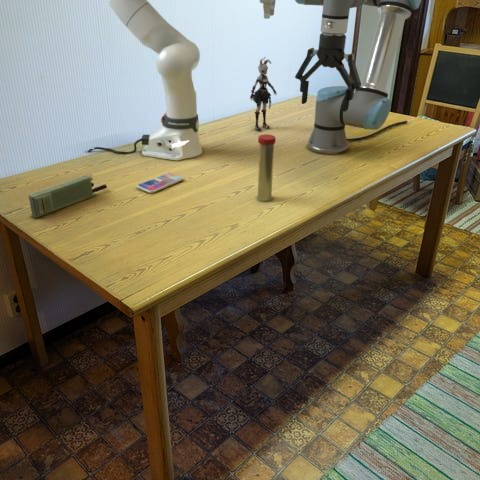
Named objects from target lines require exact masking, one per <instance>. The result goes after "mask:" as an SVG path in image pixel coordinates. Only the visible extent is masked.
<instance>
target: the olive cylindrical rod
mask: <svg viewBox="0 0 480 480" xmlns="http://www.w3.org/2000/svg"><path fill="white" fill-rule="evenodd" d="M258 145H259V149H258V150H259V151H258V180H257V181H258V183H257V200H258V201H260V202H270V201H271V200H272V194H273V193H272V192H273V191H272V190H273V176H274V175H273V170H274V150H275V144H272V145H262V144H260V143H259V144H258Z"/></svg>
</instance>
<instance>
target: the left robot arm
mask: <svg viewBox="0 0 480 480" xmlns="http://www.w3.org/2000/svg"><path fill="white" fill-rule="evenodd" d="M258 1H259V4H262V8H263V19H264V20H268V19H270V18H271V17H272V16H274V15H275V8H276V0H258ZM108 4H109V6H110V8H111V9H112V10H113V12H114V14H115V15H116V16H117V18H118V19H119V20H120V21H121V22H122V24H123V25H124V26H125V27H126V28H127V29H128V30H129V31H130V33H132V35H133V36H134V37H135V38H136V39H137V40H138V41H139V42H140V43H141V44H142V45H143V46H145V47H146V48H148V49H150V50H152V51H153V52H154V53H156V54H157V55H158V56H157V57H156V61H155V67H156V70H157V72H158V74H159V75H160V79H161V83H162V86H163V91H164V98H165V113H163V114H162V116H161V118H160V123H161V125H159V127H157V128H156V129H155V130H154V131H152V132H151V133H150V134H142V136H141V138H140V139H137V140H136V141H135V142H134V144H133V147H134V149H133V150H131V151H123V150H122V151H121V150H115V149H113V148H109V147H102V146H94V147H95V148H94V147H93V148H94V149H91V148H90V149H88V150H87V153H91V152H92V151H94V150H102V151H110V152H113V153H114V154H122V155H123V154H124V155H128V154H129V155H130V154H134V153H135V152H136V151H137V150H138V149H137V148H138V147H137V144H139V143H140V142H141V145H142V146H144V147H143V148H142V150H141V155H142V156H145V157H152V158H157V159H164V160H170V161H176V162H178V161H182V160H185V159H190V158H191V159H192V158H196V157H198V156H200V155H202V153H203V149H202V148H203V147H202V145H201V142H200V134H199V128H200V121H199V114H198V103H197V91H196V90H195V86H194V82H193V76H192V75H193V74H192V73H193V71H195V70H196V68H197V67H198V65H199V62H200V59H201V51H200V49H199V47H198V46H197V44H195V42H193V41H191V40H190V39H189V38H187V37H186V36H185V35H184V34H182V32H181V31H179V30H178V29H176V28H175V27H174V26H173V25H171V24H170V23H169V22H168V21H167V20H166V19H165V18H164V17H163V16H162V15H161V14H160V13H159V11H157V9H156V8H154V6H153V5H152V4H151V3H150V2H149V1H148V0H108Z"/></svg>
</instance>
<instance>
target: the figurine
mask: <svg viewBox="0 0 480 480" xmlns="http://www.w3.org/2000/svg"><path fill="white" fill-rule="evenodd" d="M268 63H269V64H270V65H271V64H272V61H271V60H270V59H268V58H267V59H266V56H264V57H263V58H261V59H260V60H259V64H258V68H257V70H258V73H259V75H258V76H257V77H256V80H255V82H254V85H252V87H251V88H252V89H251V91H250V93H251V94H250V97H249V99H250V101H253V102H254V103H255V104H256V109H255V112H254V114H255V125H254V129H255V131H257V132H261V130H262V129H261V128H260V126H259V117H260V115H261V113H262V120H263V121H262V128H264V129H266V130H267V129H270V125H268V123H267V121H266V117H267V105H268V110H270V109H271V106H272V97H271V96H272V95H271V93H270V92H269V90H268V88H267V86H268V87H270V89H271V90H272V92H273V95H274V96H277V93H278V92H277V90H276V89H275V87H274V85H272V83H271V82H270V81H269V78H268V75H267V74H268V69H269V67H268ZM258 84H259V88H258V89H257V90H256V88H257V85H258ZM261 107H262V109H261Z"/></svg>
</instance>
